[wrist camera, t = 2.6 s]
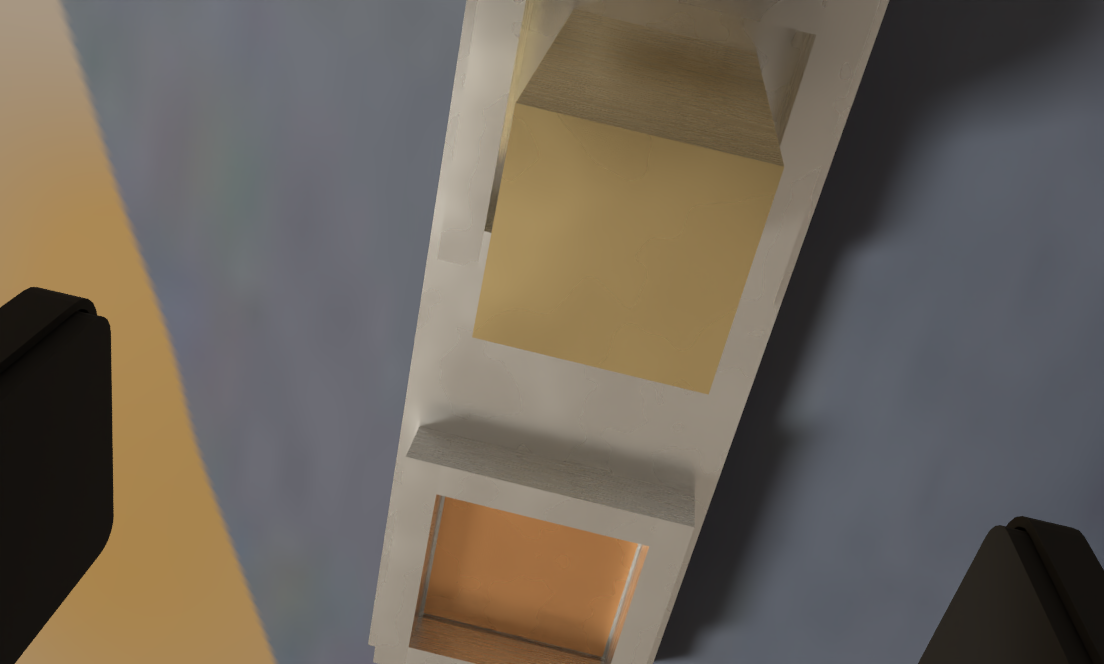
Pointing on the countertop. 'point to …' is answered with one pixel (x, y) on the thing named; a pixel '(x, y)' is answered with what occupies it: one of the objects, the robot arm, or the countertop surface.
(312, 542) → the countertop surface
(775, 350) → the countertop surface
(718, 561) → the countertop surface
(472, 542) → the white boxy piece
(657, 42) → the square wooden post
